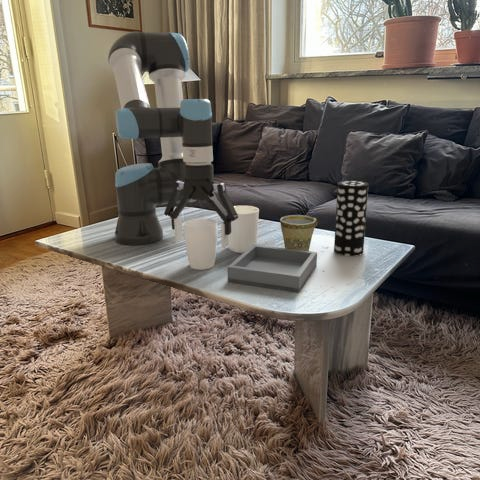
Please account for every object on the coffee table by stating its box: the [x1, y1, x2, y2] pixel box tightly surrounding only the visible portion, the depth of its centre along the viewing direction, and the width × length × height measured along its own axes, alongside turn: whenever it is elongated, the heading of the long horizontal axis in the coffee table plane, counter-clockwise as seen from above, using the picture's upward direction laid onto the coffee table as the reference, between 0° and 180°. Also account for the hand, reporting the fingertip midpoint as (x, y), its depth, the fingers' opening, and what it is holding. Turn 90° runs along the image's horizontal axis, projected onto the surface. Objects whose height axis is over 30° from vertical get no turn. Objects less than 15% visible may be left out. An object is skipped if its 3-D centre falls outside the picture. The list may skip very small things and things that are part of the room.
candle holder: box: [228, 205, 260, 254], centre depth 134 cm, size 10×10×12 cm
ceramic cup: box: [279, 214, 318, 251], centre depth 131 cm, size 13×10×10 cm
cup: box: [183, 217, 219, 271], centre depth 121 cm, size 9×9×12 cm
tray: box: [227, 244, 318, 293], centre depth 116 cm, size 18×18×4 cm
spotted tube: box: [333, 180, 369, 257], centre depth 129 cm, size 8×8×20 cm
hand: (201, 243), depth 121 cm, fingers open, 13 cm apart
